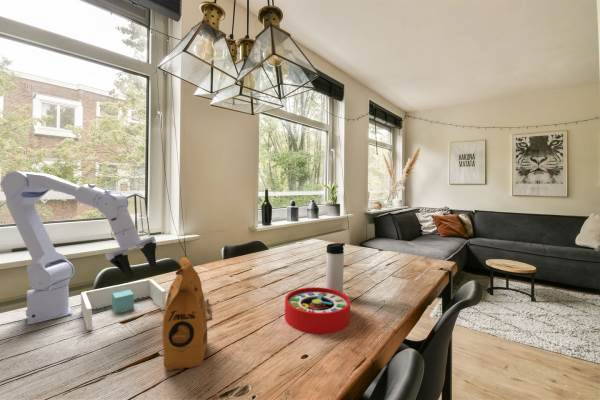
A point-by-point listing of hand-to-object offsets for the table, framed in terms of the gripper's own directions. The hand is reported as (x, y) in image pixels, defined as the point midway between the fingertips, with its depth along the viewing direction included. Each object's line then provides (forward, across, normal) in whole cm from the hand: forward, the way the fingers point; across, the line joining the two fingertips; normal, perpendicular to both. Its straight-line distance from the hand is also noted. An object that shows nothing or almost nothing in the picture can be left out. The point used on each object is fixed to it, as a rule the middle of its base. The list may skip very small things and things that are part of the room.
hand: (142, 271), depth 83 cm
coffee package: (+20, -12, -22) cm, 32 cm away
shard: (+19, +4, -8) cm, 21 cm away
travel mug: (+36, +35, -40) cm, 64 cm away
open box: (+9, -3, +12) cm, 16 cm away
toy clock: (+33, +19, -40) cm, 56 cm away
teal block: (+9, -2, +14) cm, 17 cm away
